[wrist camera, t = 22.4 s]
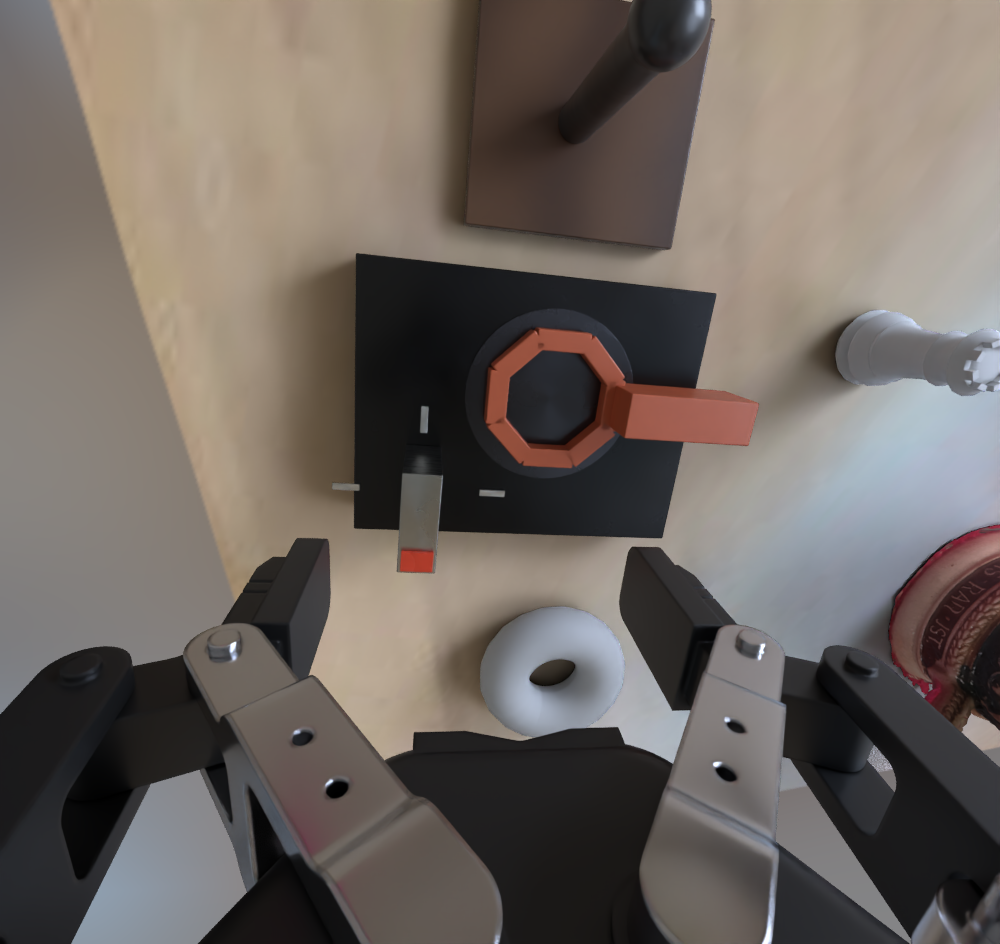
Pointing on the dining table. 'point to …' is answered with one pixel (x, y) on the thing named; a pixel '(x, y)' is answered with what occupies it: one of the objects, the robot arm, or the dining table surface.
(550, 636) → the donut
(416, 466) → the knob
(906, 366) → the rook chess piece
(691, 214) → the dining table surface
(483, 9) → the peg stand
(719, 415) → the hanging ring
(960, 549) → the beer stein
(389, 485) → the stove
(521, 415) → the burner
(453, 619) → the dining table surface
